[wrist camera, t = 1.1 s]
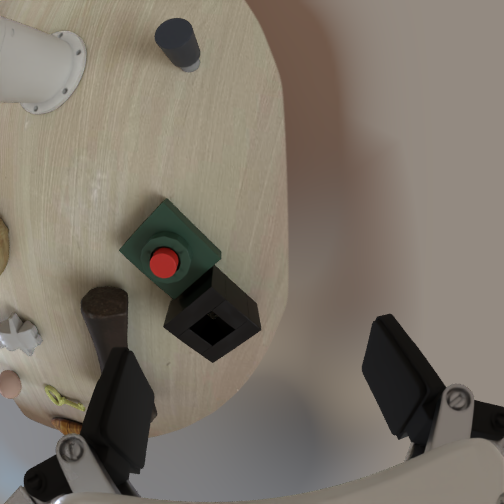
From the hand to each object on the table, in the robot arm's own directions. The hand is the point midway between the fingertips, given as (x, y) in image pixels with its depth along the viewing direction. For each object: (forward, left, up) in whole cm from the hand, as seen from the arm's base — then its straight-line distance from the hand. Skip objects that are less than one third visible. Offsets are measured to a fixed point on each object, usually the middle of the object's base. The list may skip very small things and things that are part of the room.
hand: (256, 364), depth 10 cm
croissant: (+11, -76, -26) cm, 82 cm away
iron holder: (+9, -12, -26) cm, 30 cm away
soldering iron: (-17, +8, -26) cm, 32 cm away
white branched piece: (-14, -49, -26) cm, 58 cm away
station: (-1, -10, -26) cm, 28 cm away
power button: (-1, -10, -23) cm, 25 cm away
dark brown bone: (+5, -32, -26) cm, 42 cm away
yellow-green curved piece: (+4, -62, -26) cm, 68 cm away
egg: (-10, -71, -26) cm, 77 cm away
